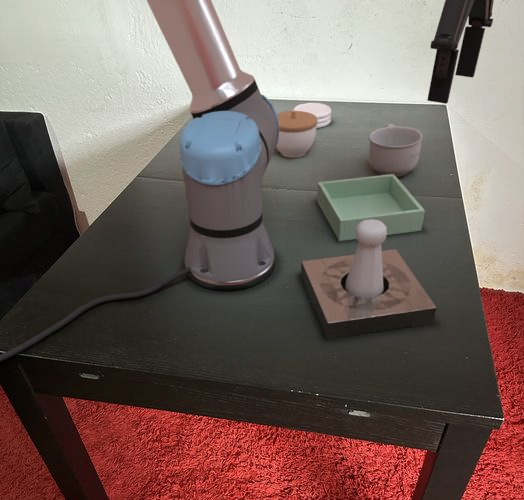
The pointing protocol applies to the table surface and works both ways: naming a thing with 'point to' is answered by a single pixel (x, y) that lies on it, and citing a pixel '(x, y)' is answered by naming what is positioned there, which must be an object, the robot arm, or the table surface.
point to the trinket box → (296, 133)
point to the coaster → (317, 112)
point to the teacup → (394, 149)
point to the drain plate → (365, 309)
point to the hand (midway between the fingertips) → (451, 88)
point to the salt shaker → (367, 260)
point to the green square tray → (369, 205)
